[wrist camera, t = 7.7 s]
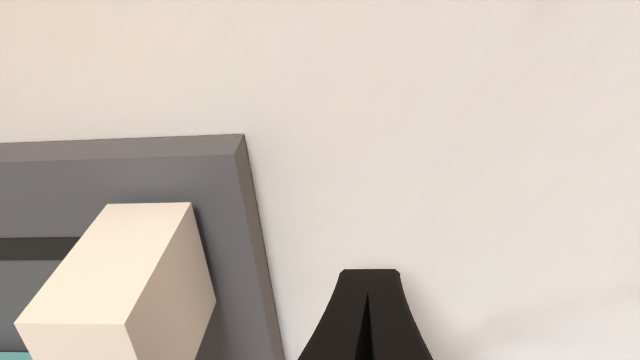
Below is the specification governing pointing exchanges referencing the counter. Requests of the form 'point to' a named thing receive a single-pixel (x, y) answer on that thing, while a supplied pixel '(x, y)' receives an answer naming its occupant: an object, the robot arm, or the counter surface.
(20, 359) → the teal fader
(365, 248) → the counter surface
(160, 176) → the fader console
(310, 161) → the counter surface
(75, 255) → the ivory fader
